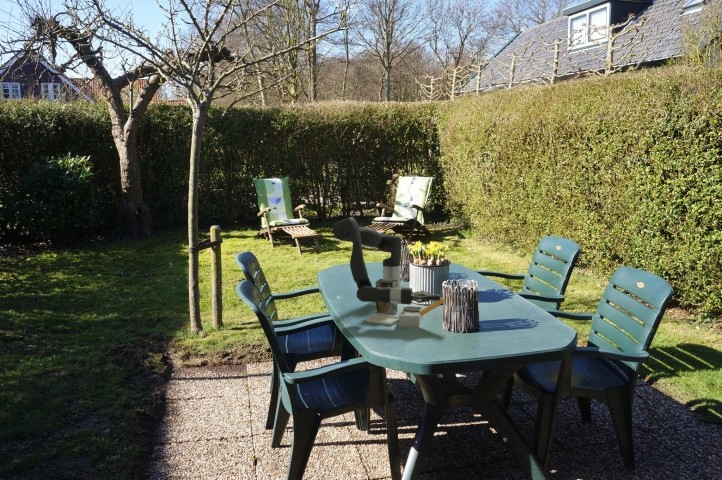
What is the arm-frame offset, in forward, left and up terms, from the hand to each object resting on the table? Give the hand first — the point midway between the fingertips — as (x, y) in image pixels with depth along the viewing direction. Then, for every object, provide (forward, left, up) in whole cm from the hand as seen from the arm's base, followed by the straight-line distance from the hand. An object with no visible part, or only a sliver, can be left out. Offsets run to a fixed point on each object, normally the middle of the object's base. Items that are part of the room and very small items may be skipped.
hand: (439, 297), depth 250 cm
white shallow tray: (+6, -26, -13) cm, 29 cm away
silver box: (+2, -14, -13) cm, 19 cm away
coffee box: (-5, -31, -13) cm, 34 cm away
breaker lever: (+3, -8, -8) cm, 12 cm away
